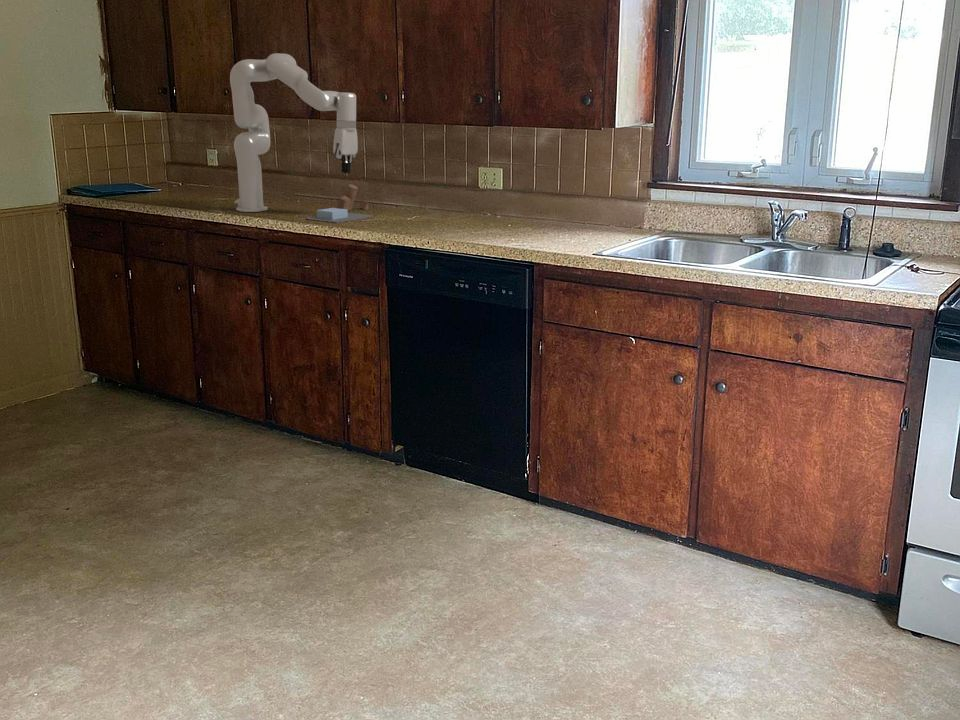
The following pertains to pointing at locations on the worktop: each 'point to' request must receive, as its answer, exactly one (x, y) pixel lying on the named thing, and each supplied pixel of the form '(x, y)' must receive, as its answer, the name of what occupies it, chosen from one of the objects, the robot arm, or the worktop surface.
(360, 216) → the mat
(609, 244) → the worktop surface
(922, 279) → the worktop surface
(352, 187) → the wooden block set
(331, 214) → the slab
